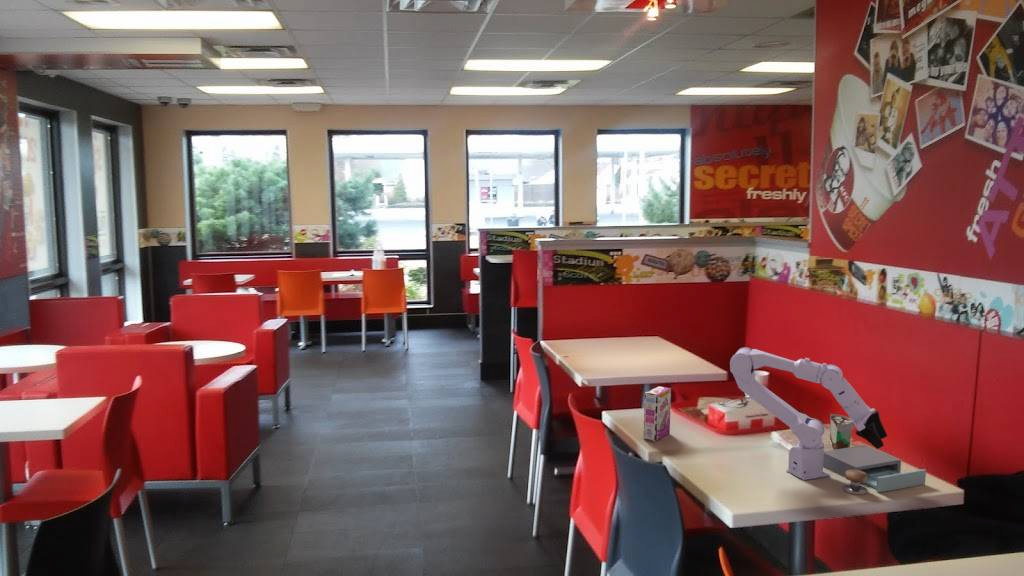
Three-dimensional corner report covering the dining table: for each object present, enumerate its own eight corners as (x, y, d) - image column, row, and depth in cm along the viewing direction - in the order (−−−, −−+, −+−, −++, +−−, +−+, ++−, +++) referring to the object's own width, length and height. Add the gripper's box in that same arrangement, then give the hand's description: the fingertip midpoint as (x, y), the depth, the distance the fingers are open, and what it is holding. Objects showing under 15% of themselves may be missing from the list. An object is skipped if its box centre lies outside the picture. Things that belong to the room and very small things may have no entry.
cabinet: (900, 473, 237) (901, 459, 236) (854, 481, 231) (855, 467, 230) (864, 458, 250) (865, 444, 249) (820, 465, 244) (821, 451, 243)
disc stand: (854, 496, 221) (855, 484, 220) (837, 487, 227) (838, 476, 226) (872, 493, 223) (873, 481, 222) (855, 484, 229) (856, 473, 228)
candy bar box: (656, 442, 266) (657, 394, 264) (643, 439, 269) (643, 392, 267) (670, 433, 275) (671, 387, 273) (657, 431, 278) (658, 385, 276)
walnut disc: (855, 483, 221) (855, 477, 220) (841, 476, 226) (841, 471, 226) (870, 480, 223) (871, 475, 222) (856, 473, 228) (856, 468, 227)
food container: (856, 456, 251) (858, 426, 250) (836, 455, 252) (837, 424, 251) (848, 443, 263) (850, 414, 262) (828, 442, 264) (830, 413, 263)
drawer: (925, 484, 228) (926, 469, 228) (878, 492, 222) (879, 478, 222) (888, 468, 241) (889, 454, 240) (843, 475, 235) (844, 462, 234)
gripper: (859, 404, 222) (891, 444, 219) (867, 388, 234) (897, 426, 231) (838, 416, 225) (869, 456, 223) (846, 400, 237) (876, 438, 235)
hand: (882, 442), depth 228 cm, fingers open, 7 cm apart
